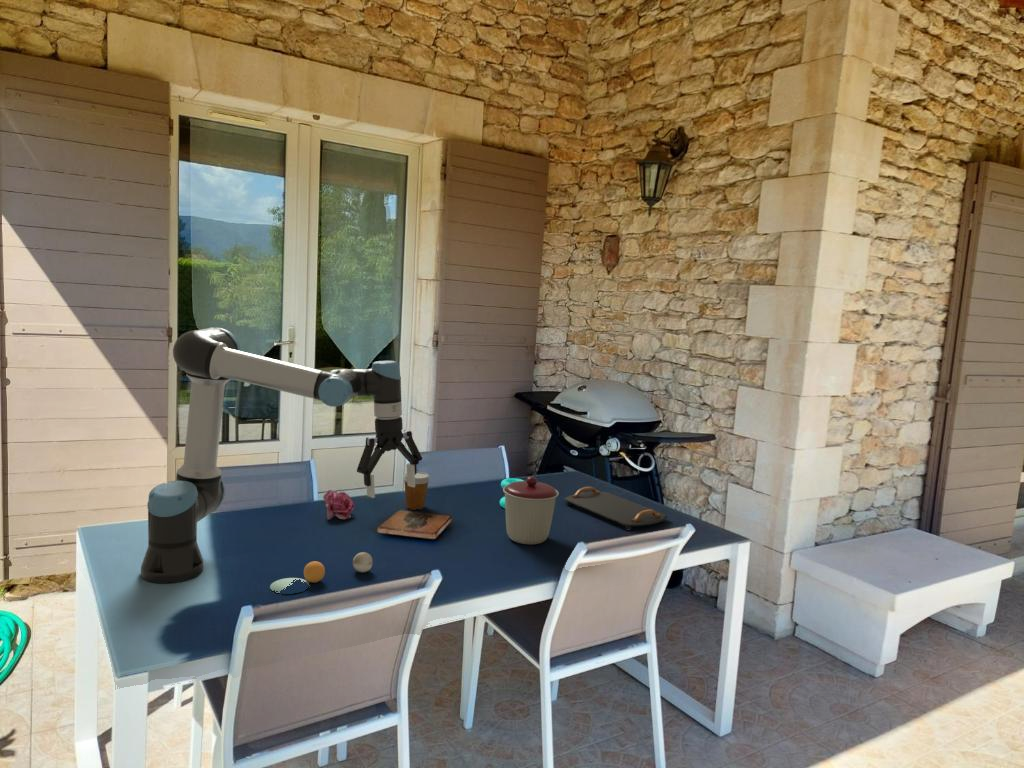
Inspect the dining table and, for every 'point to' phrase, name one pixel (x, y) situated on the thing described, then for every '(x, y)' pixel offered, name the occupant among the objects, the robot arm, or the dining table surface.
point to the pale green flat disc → (284, 584)
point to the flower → (338, 505)
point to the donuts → (503, 484)
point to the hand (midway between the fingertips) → (391, 491)
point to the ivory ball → (362, 562)
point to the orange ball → (314, 571)
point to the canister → (529, 510)
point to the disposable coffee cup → (416, 491)
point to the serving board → (615, 508)
